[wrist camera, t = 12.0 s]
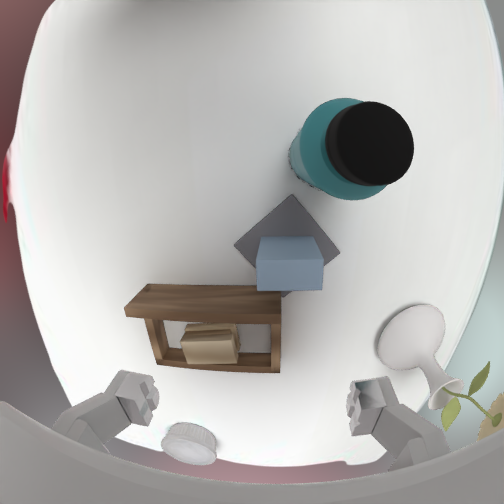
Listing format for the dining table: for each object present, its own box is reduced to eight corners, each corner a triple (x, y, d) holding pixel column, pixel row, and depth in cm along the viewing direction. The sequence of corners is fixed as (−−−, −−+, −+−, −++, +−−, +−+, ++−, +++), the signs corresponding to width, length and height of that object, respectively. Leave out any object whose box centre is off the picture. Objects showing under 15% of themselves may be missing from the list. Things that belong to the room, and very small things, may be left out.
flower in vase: (404, 370, 37) (454, 494, 13) (359, 345, 36) (406, 500, 12) (457, 311, 33) (544, 419, 9) (419, 275, 32) (532, 403, 8)
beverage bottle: (282, 179, 30) (291, 203, 11) (292, 122, 28) (314, 56, 9) (338, 190, 30) (424, 233, 11) (348, 134, 28) (445, 101, 9)
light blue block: (261, 236, 32) (255, 260, 24) (313, 236, 31) (323, 259, 24) (262, 261, 33) (257, 290, 25) (312, 260, 32) (322, 290, 25)
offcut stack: (187, 323, 38) (177, 341, 33) (236, 320, 37) (231, 340, 32) (194, 345, 39) (186, 365, 34) (241, 344, 38) (237, 364, 34)
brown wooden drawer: (147, 283, 36) (123, 307, 29) (280, 285, 34) (281, 314, 28) (163, 352, 40) (147, 381, 33) (280, 359, 38) (279, 393, 31)
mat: (291, 194, 31) (292, 194, 30) (339, 251, 32) (340, 252, 32) (234, 244, 33) (233, 245, 33) (283, 296, 35) (283, 297, 34)
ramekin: (227, 431, 45) (223, 452, 40) (211, 452, 49) (206, 470, 44) (173, 411, 45) (165, 431, 40) (164, 434, 48) (157, 452, 43)
